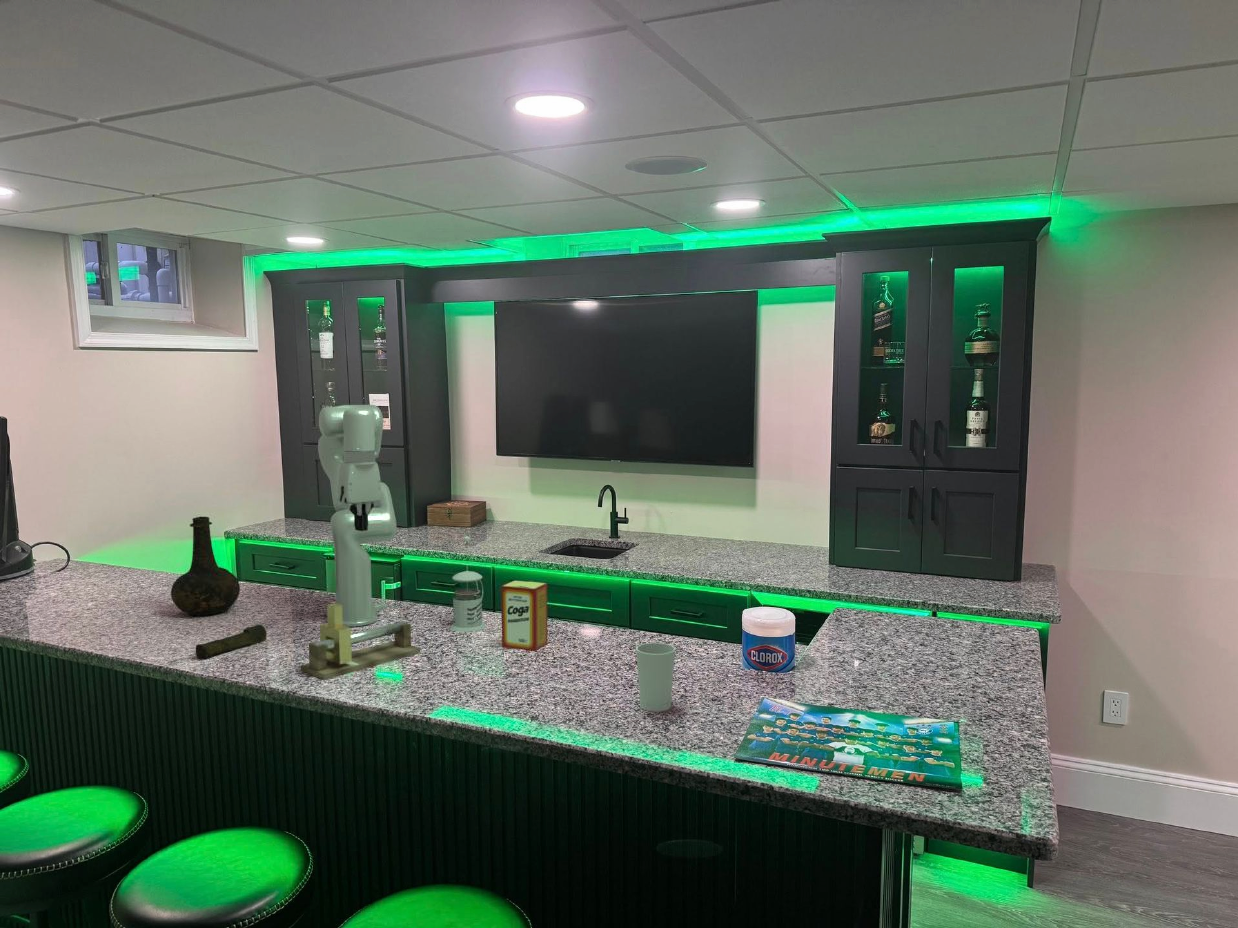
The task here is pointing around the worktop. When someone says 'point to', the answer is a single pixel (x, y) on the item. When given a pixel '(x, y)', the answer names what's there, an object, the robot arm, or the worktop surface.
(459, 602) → the french press
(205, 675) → the worktop surface
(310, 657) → the pipe stand
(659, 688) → the cup
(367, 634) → the pipe
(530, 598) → the baking soda box
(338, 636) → the collar
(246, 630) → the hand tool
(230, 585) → the glass bottle
